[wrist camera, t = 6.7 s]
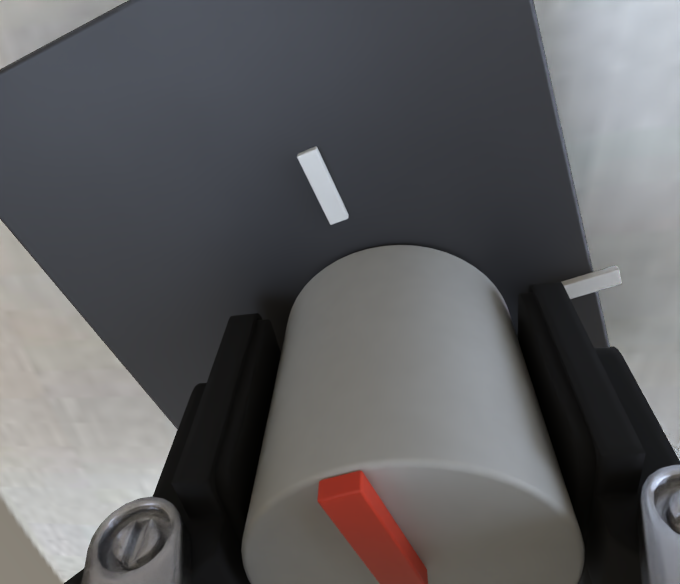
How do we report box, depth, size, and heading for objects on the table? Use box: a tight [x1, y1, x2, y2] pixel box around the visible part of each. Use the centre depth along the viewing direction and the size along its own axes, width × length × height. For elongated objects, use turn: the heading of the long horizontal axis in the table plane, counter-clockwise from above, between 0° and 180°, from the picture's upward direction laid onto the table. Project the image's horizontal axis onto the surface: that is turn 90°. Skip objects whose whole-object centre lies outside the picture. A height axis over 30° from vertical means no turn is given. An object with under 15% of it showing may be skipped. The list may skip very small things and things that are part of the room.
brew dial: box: [241, 245, 585, 584], centre depth 10 cm, size 5×5×5 cm
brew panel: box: [0, 0, 622, 429], centre depth 12 cm, size 12×10×3 cm
